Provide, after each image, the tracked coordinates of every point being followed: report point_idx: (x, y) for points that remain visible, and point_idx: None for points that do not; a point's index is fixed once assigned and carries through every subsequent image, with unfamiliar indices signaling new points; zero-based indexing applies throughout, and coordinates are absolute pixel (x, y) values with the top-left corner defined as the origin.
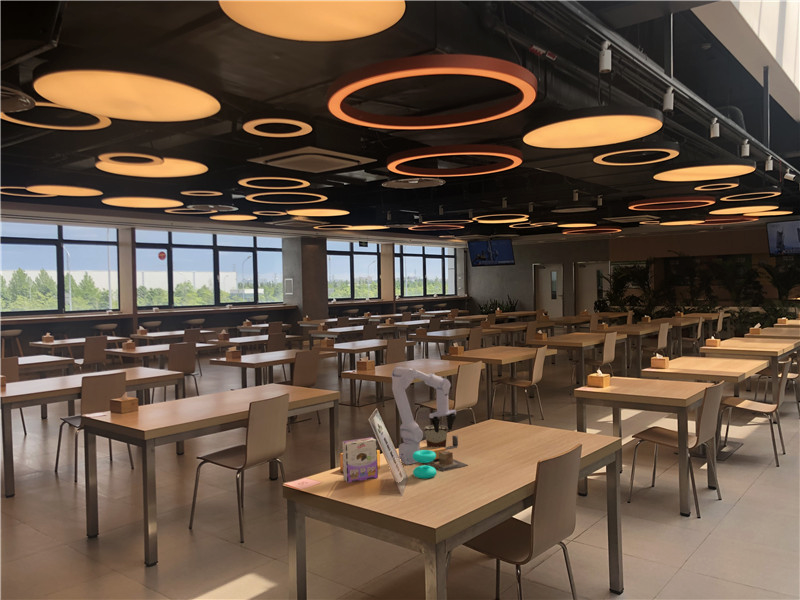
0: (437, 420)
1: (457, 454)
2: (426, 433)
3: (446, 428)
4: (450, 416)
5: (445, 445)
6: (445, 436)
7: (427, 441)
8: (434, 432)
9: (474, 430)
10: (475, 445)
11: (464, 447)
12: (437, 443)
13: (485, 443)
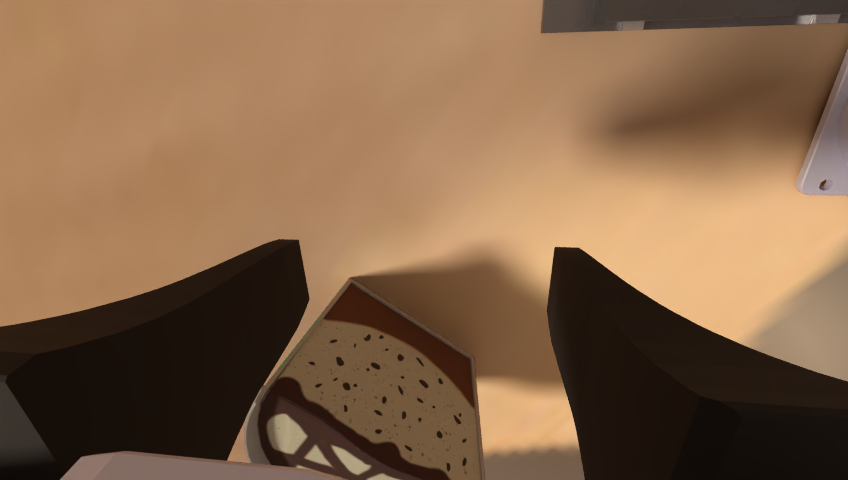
0: (812, 389)
1: (380, 15)
2: (472, 459)
3: (263, 403)
4: (96, 449)
5: (347, 288)
6: (317, 338)
7: (468, 391)
8: (404, 427)
9: None
10: (104, 173)
11: (213, 181)
12: (400, 334)
13: (6, 170)
